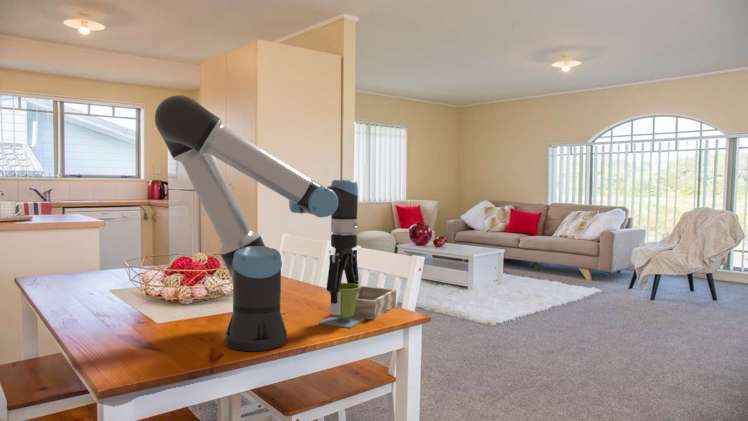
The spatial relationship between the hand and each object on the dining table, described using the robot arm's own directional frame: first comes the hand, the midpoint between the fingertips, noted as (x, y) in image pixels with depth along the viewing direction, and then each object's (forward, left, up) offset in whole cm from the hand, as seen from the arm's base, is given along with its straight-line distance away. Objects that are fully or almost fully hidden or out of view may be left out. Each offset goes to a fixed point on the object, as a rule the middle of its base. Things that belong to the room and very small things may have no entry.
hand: (342, 310), depth 153 cm
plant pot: (0, 0, -2) cm, 2 cm away
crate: (+16, -1, -3) cm, 16 cm away
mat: (0, 0, -3) cm, 3 cm away
